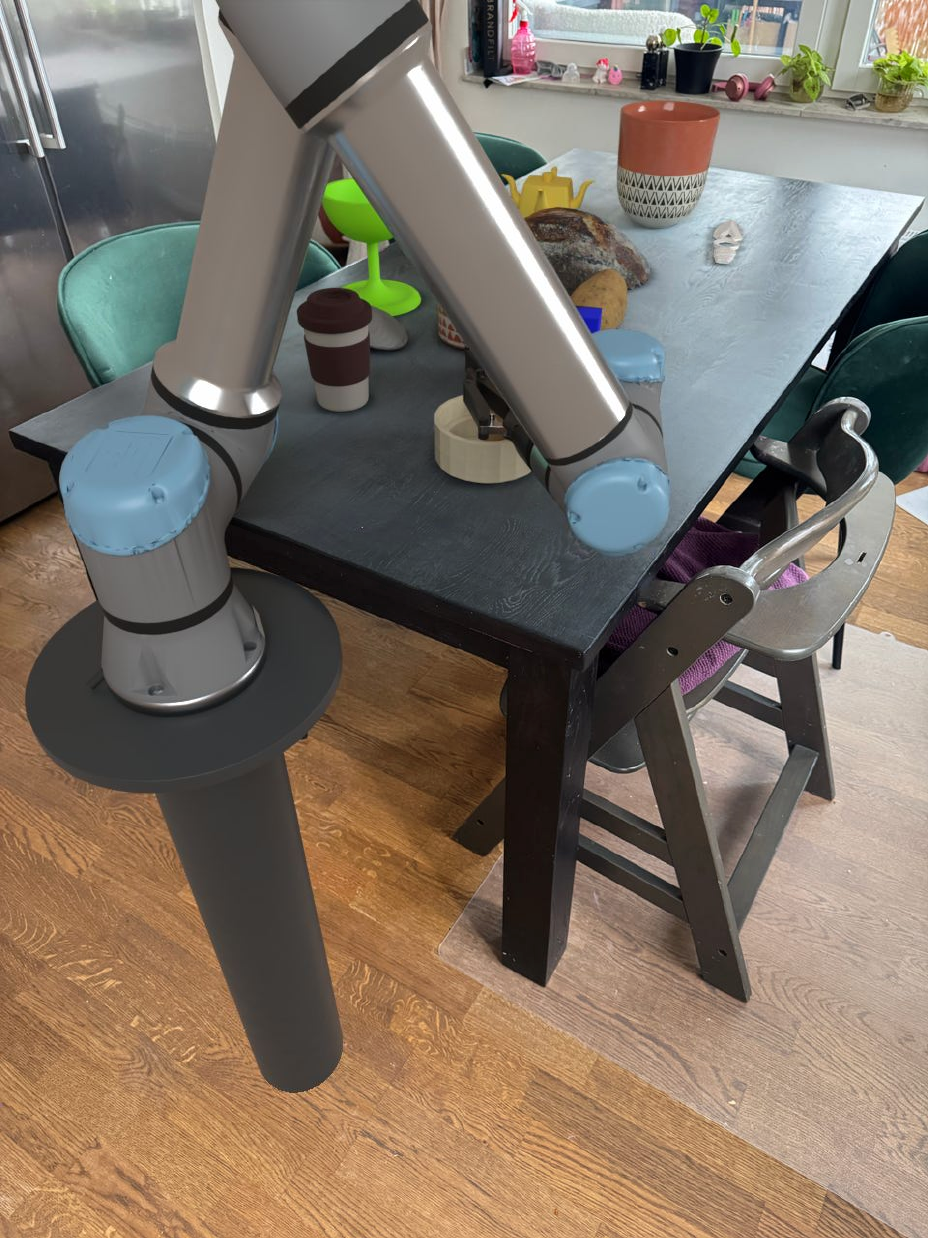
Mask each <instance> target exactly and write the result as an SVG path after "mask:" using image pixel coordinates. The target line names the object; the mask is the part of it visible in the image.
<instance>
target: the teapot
mask: <svg viewBox="0 0 928 1238" xmlns="http://www.w3.org/2000/svg"><path fill="white" fill-rule="evenodd" d="M541 174H542V175H541ZM541 174H530V175H528V176H527V177H526V178H525V180H524V182H523V183H522V187H521V192H519V190H518V188H517V183H516V180H515V179H514V177H513V176H512V175H509V174H504V173H503V174H501V176H502V177H503V178H504V179H505V180H506V181H507V183H508V185H509V191H510V196H511V197H512V199H513V201H514V202H515V204H516V206H517V208H518V209H519V211H520V213H521V214H522V216H523V218H525V217H528V216H530V215H531V214H533V213H535V212H538V211H540V210H542V209H548V208H554V207H564V208H572V209H579V210H580V207H581V206H582V204H583V201H584V198H585V195H586V191H587V189H588V187H589V186H590V185H592V184H594V183H595V182H596V180H594V179H592V180H591V179H590V180H585V181H583V182H582V183H581V185H580V187H579V189H578V193H577V194H576V196H575V197H574V183H573V178H572V177H568V176H560V175H559V176H558V167H557V166H552V167H551V170H550V171H543V172H542V173H541Z"/></svg>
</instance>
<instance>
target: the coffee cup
mask: <svg viewBox="0 0 928 1238" xmlns="http://www.w3.org/2000/svg"><path fill="white" fill-rule="evenodd" d="M296 317H297V318H296V319H297V323H298V325H299V326H300V327H301V328H302V329H303V333H304V334H303V341H304V347H305V351H306V357H307V361H308V367H309V372H310V376H311V379H312V380H313V384H314V389H315V395H316V400H317V403H318V405H319V406H320V407H321V408H322V409H324V410H327V411H330V412H334V413H335V412H336V413H347V412H352V411H356V410H358V409H360V408H362V407H364V406H365V405H366V404H367V403H368V401H369V397H370V393H369V392H370V391H369V389H370V387H369V385H370V381H369V380H370V379H369V378H370V377H369V376H370V374H371V347H370V332H369V330H368V324H369V323H370V322H371V321H372V307H371V305H370V303H369V302H367V301H366V300H364V299H361V298H360V297H359V295H358V293H356V292H355V291H353V290H350V289H346V288H341V287H326V288H320V289H317V290H315V291H313V292H311V293H309V294H308V296H307V297H306V300H305V301H304V302H302V303H300V305H298V307H297V309H296Z"/></svg>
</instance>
